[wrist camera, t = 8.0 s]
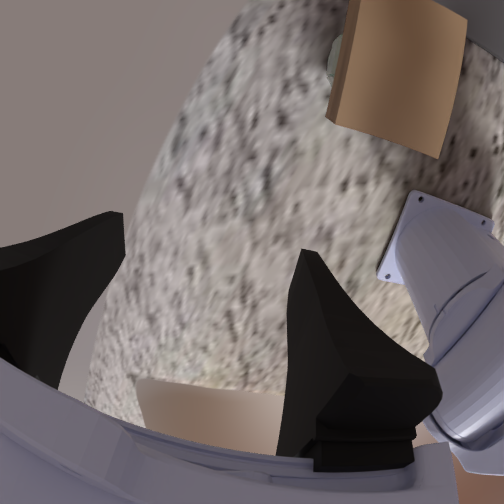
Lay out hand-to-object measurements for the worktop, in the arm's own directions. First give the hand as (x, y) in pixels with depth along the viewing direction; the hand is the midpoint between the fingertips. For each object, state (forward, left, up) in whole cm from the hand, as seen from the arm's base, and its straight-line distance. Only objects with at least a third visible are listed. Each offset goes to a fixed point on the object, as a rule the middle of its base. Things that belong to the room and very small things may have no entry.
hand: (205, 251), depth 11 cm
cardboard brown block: (-7, -9, -7) cm, 14 cm away
